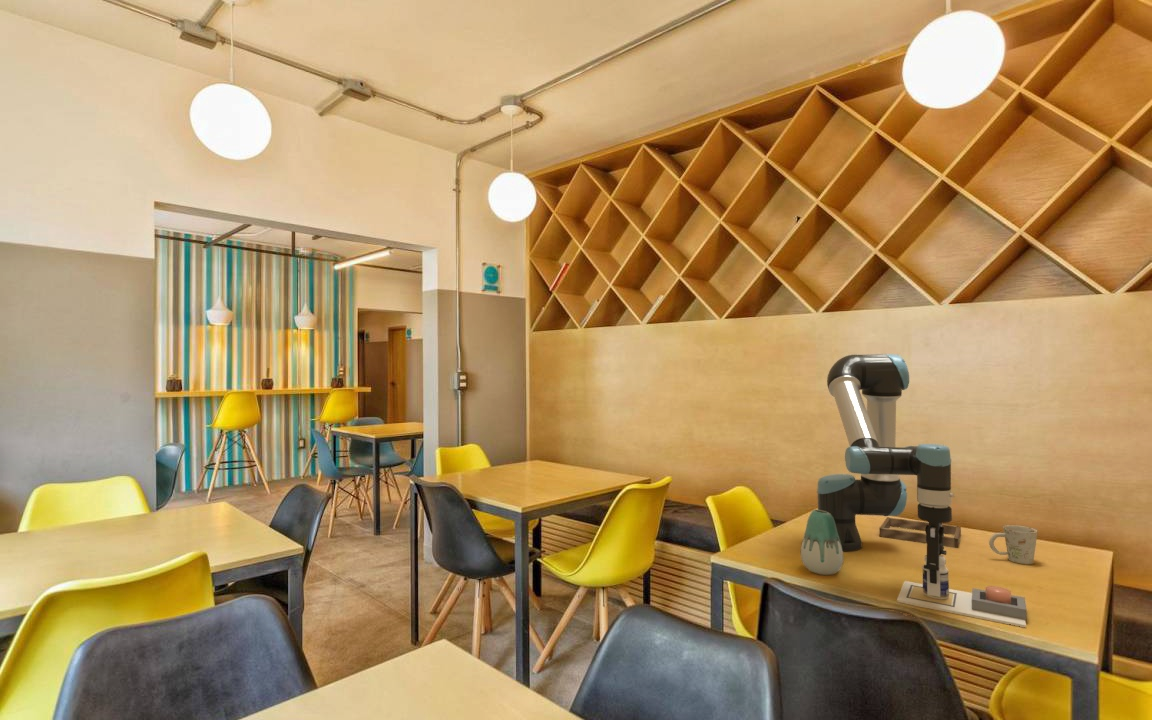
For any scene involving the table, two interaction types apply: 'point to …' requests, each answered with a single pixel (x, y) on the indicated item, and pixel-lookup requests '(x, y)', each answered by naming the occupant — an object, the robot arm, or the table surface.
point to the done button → (998, 594)
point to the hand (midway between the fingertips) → (936, 587)
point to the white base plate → (967, 604)
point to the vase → (821, 544)
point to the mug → (1017, 543)
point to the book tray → (916, 536)
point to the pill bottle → (943, 580)
